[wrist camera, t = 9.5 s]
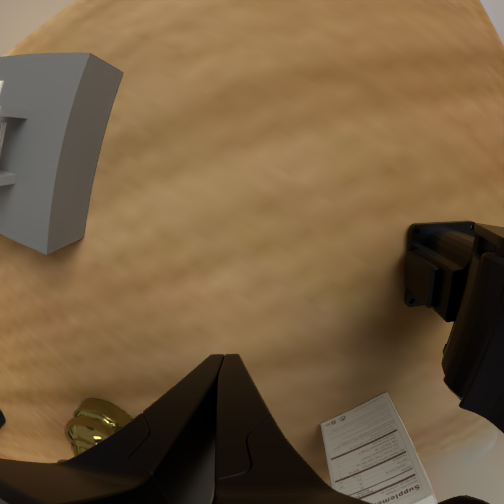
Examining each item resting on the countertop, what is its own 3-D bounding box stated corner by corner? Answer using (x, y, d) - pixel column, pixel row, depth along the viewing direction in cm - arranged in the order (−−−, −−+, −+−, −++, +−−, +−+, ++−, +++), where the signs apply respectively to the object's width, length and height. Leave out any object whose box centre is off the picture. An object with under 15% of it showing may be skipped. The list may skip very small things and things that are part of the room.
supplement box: (404, 426, 26) (442, 515, 14) (343, 454, 27) (362, 548, 15) (388, 388, 24) (436, 494, 12) (317, 422, 26) (335, 534, 13)
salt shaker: (112, 392, 26) (70, 463, 16) (153, 439, 27) (127, 510, 18) (69, 400, 27) (27, 458, 17) (107, 443, 28) (78, 503, 19)
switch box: (123, 72, 18) (65, 39, 10) (83, 237, 21) (20, 268, 14) (34, 68, 18) (-25, 51, 10) (5, 208, 21) (-56, 225, 14)
